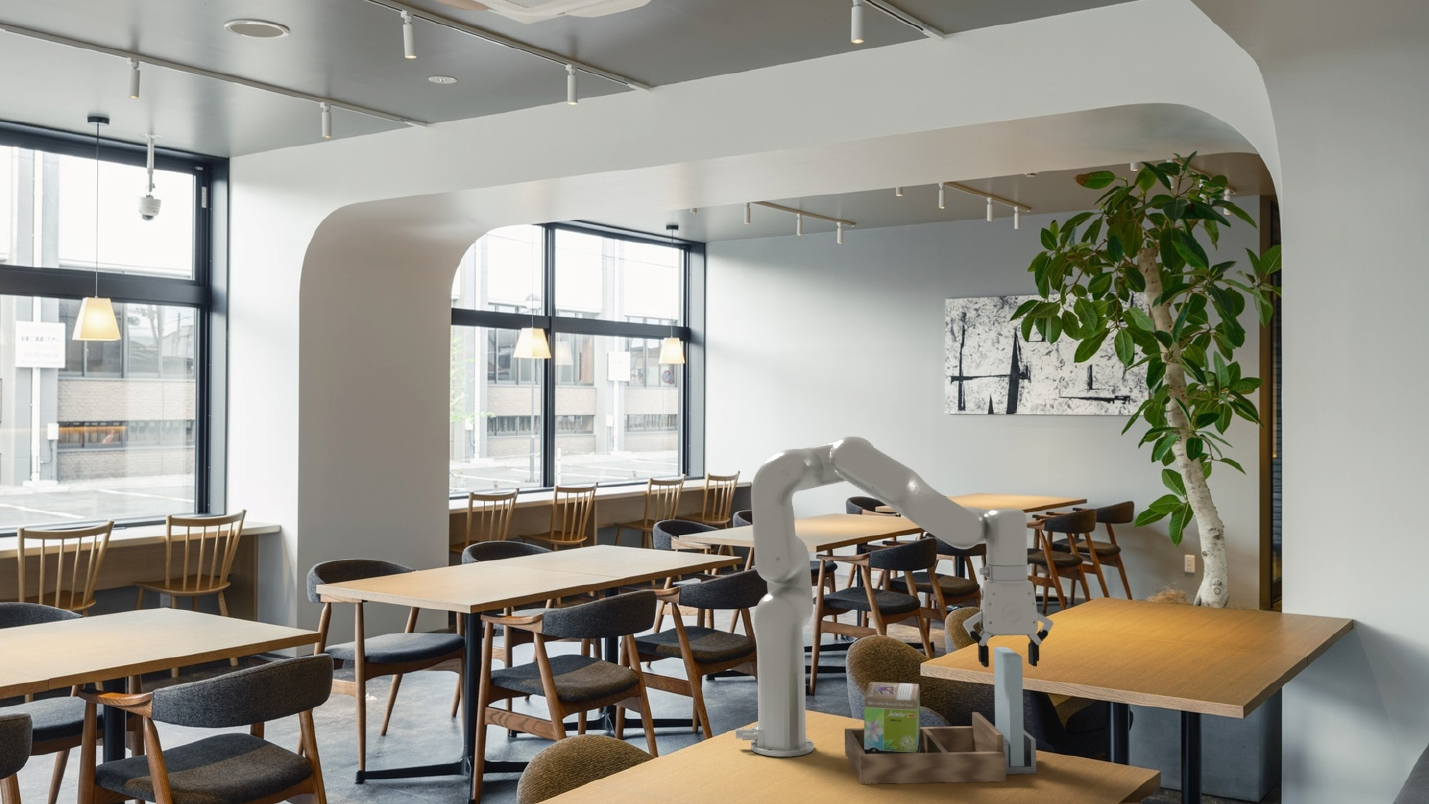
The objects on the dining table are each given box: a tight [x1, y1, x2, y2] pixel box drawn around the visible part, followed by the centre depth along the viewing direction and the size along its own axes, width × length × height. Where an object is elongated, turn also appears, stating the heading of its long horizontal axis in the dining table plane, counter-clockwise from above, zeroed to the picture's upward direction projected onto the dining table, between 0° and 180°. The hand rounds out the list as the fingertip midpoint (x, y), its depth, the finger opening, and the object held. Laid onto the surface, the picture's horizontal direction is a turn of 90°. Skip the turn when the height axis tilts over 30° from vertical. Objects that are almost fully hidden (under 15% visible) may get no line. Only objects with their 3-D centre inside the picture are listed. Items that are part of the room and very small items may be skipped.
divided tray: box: [844, 711, 1007, 785], centre depth 217 cm, size 26×20×8 cm
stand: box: [1003, 728, 1037, 775], centre depth 218 cm, size 6×12×6 cm, turn 2°
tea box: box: [863, 681, 921, 754], centre depth 217 cm, size 15×10×15 cm
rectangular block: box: [993, 646, 1024, 766], centre depth 219 cm, size 2×10×20 cm, turn 2°
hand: (1008, 665), depth 219 cm, fingers open, 8 cm apart
